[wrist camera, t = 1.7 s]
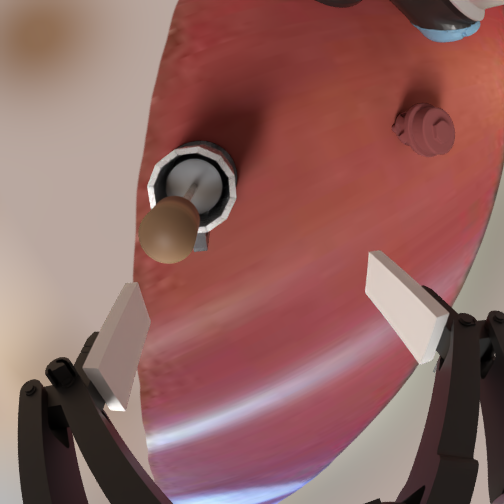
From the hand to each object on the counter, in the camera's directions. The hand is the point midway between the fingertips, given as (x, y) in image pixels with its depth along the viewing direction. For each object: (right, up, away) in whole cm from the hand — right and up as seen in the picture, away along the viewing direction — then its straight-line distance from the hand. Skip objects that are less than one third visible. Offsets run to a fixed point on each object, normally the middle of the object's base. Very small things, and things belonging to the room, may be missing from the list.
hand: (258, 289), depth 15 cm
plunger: (-9, +11, +24) cm, 28 cm away
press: (-9, +14, +32) cm, 36 cm away
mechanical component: (+30, +27, +31) cm, 51 cm away
